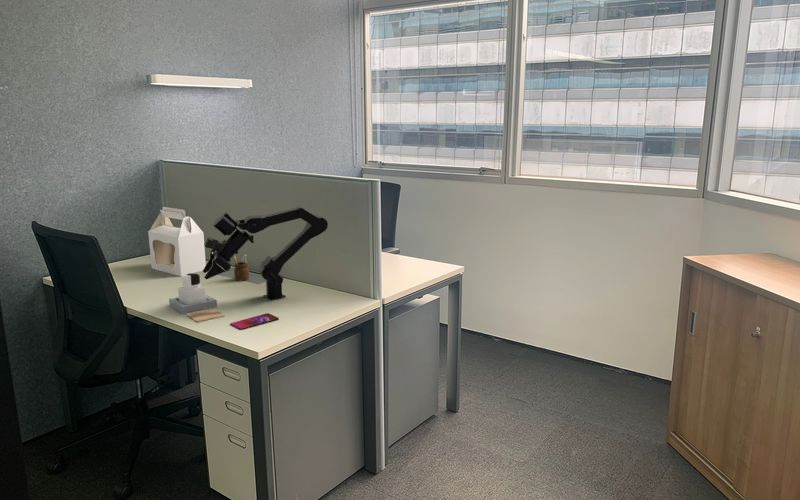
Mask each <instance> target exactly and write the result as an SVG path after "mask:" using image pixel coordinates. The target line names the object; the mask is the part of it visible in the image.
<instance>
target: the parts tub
mask: <svg viewBox="0 0 800 500" xmlns="http://www.w3.org/2000/svg"><path fill="white" fill-rule="evenodd" d="M206 300H207V301H203V302H198V303H193V304H189V305H184V304H182V303H181V302H179V296H177V297H176V296H175V297H172V298H171V297H170V298H168V303H169V306H170V307H171V308H173V309H175V310H177V311H178V312H179V313H181V314H182V315H186V314H188V313H193V312H197V311H202V310H206V309H211V308H216V307H217V306H218V305H217V303H218V302H217V299H215V298H213V297H211V296H210V295H208V294H206ZM217 308H218V307H217Z"/></svg>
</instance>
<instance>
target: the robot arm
mask: <svg viewBox="0 0 800 500" xmlns="http://www.w3.org/2000/svg"><path fill="white" fill-rule="evenodd" d="M298 219H301V220H303V221H304V222H306V224H305V226H304V228H303V229H302V231H301V232H300V233H298V234H297V236H295V237H294V238H293V239H292V240H291V241H290V242H289V243H288V244H286V246H284V248H283V249H282V250H280V252H279V253H277V254H276V255H275V256H272V257H271V256H270V255H267V257H266V258H265V259H264V260H263V261H260V265H259V269H258V271H259V274H260V275H261V277H262V278H263V280H265V283H266V285H265V287H266V290H265V291H266V294H264V295H263V298H266V299H268V300H270V301H274V300H279V299H282V298H286V297H287V296H286V294H283V286H282V285H283V281H284V278H283V276H282V275H281V274H280V273H281V271H282V269H283V267H284V265H285V264H286V263H287V262H288V261H289V260H290V259H292V257H293V256H294V255H296V254H297V252H299V251H300V250H301V249H302V248H303V247H304V246H305V245H306V244H307V243H308V242H310V241H311V239H313V238H316V237H318V236H319V235H321V234H323V233H324V232H326V230H327V229H328V227H329V226H328V225H329V223H328V221H327V219H326V218H324V217H323V216H321V215H319V214H315V215H314V214H312V213H311V212H309V211H307V210H306V209H305V208H304V207H302V206H297V207H294V208H290V209H287V210H286V209H285V210H283V211H278V212H275V213H270V214H265V215H264V214H261V215H260V214H256V215H248V216H246V217H245V218H244V219H243V218H242V219H239V220H235V219H234V218H232V217H231V216H230V215H229V213H227V211H226V212H224V213H222V215H220V216H219V217H217V218H216V219H215V220H214V222H213V224H212V227H214V228H215V229H216V230H217V231H218V232H219V233H220V234H222V235H223V236H229V237H228V238H227V239H223V241H221V240H218V239H215V238H213V237H210V236H207V237H206V239H205V240H204V247H205V248H207V249H210V250H209V259H208V261H207V263H206V266H205V268H204V269H203V271H202V272H203V274H205V275H204V277H203V278H204V279H205V280H209V279H211V278H214V277H215V276H218V275H220V274H223V273H225V272H228V271H229V270H230V269H231V268H232V267H231V266H232V265H231V260H232V258H234V257H233V256H234V255H235V256H236V255H238V254H239V253H240V249H242V248H243V246H244V245H245V244H246V243H247V242H248V241H249V242H250V243H251V244H254V237H255V236H254V235H253V234H257V233H259V232H261V231H264V230H265V229H267V228H269V227H270V226H271V227H272V226H274V225H278V224H283V223H286V222H290V221H294V220H298ZM249 233H250V234H249Z"/></svg>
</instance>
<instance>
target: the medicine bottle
mask: <svg viewBox="0 0 800 500" xmlns="http://www.w3.org/2000/svg"><path fill="white" fill-rule="evenodd" d="M181 280H182V286H181V287H178V288H177V292H178V293H177V294H178V297H179V302H181V303H182V304H184V305H189V304H193V303H198V302H203V301H207V300H206V295H207V291H206V286H202V285H201V279H200V274H198V273H190V274H185V275H184V276H181Z"/></svg>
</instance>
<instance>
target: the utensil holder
mask: <svg viewBox="0 0 800 500" xmlns="http://www.w3.org/2000/svg"><path fill="white" fill-rule="evenodd" d="M246 256H247V254H243V255H242V257H241V258H244V257H246ZM232 258H233V259H234V260H235V261H234V262H235V263H234V273H233V274H234V280H235V281H238V282H245V281H248V280H250V272H249V271H250V270H249V269H250V268H249V267H248V266H249V265H248V260H245V261H244V259H242V261H238V262H237V256H236V254H235V255H234V256H233V257H232Z"/></svg>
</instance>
